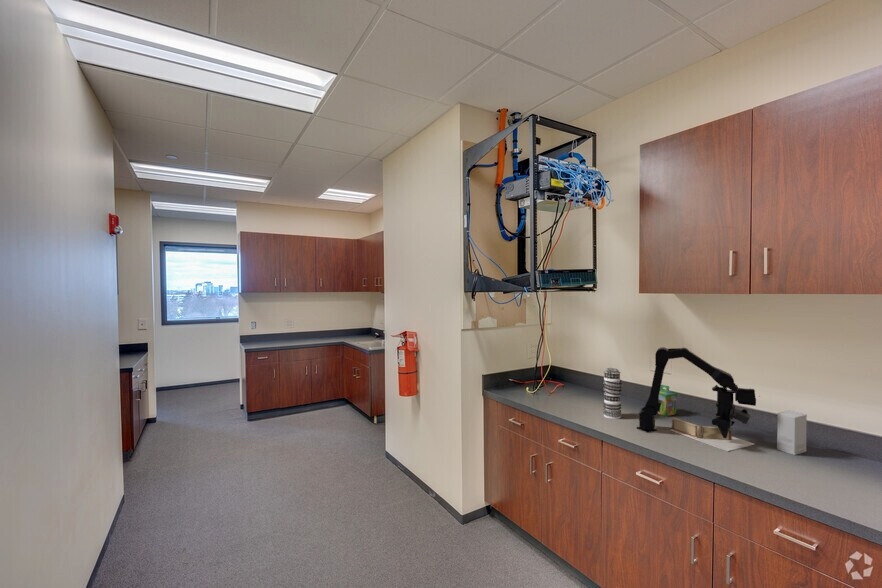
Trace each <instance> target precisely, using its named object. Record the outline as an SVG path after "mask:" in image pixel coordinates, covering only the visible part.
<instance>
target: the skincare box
mask: <svg viewBox="0 0 882 588" xmlns="http://www.w3.org/2000/svg"><path fill="white" fill-rule="evenodd" d="M807 417H808V415H807V414H805V413H802V412H799V411H794V410H789V409H788V410H784V411H781V412H777V424H776V425H777V427H776V428H777V435H776V436H777V439H776V444H777V445H776V450H778V451H782V452H783V453H787V454H789V455H793V456H797V455H799V454H803V453H806V452H807V424H808V423H807V419H808V418H807Z"/></svg>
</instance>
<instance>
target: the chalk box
mask: <svg viewBox="0 0 882 588" xmlns="http://www.w3.org/2000/svg"><path fill="white" fill-rule="evenodd" d="M664 388H665V389H664ZM659 400H662V403H661V406H660V407H661V409H660V412H659V411H658V413H657V415H660V416H663V417H669V416H673V415H678V413H677V412H678V393H677V392H674V391H671V390H670V386H669V385H664V384H661V387H660V392H659Z"/></svg>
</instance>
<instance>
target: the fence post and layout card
mask: <svg viewBox="0 0 882 588" xmlns="http://www.w3.org/2000/svg"><path fill="white" fill-rule="evenodd" d="M702 426H703V425H700V424H694V423H691V422H688V421H685V420H682V419H679V418H677V417H672V418H671V429H669V431H670V432H674V433H676V434H679V435H682V436H684V437H687V438H690V439H693V440H696V441H698V442H701V443H703V444H706V445H709V446H712V447H715V448H717V449H720V450H723V451H726V452H732V451H737V450H740V449H743V448H748V447H751V446H754V445H755V443H753V442H751V441H748V440H744V439H741V438H738V437H735V436H732V440H728V439H715V438H703V437H702Z"/></svg>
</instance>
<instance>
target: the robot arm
mask: <svg viewBox="0 0 882 588" xmlns="http://www.w3.org/2000/svg"><path fill="white" fill-rule="evenodd" d="M654 355H655V358H654V359H655V368H654V369H655V370H654V373H653V378H652V384H651V387H650V393H649V395H648V398H647V400H646V403H645V405H644V406H643V407H642V408H641V409H640V410H639V411H640V412H639V413H638V414H639V416H638V419H639V420H638V421H639V422H638V423H639V424H638V425H639V426H637V427H636V429H637V430H641V431H643V432H644V433H653V432H656V431H657V432H658V429H657V428H656V420H655V416H657V415H658V414H657V413H658V411H659V412H660V409H661V407H660V406H661V403H662V400H659V392H660V388H661V385H662V383H663V382H662V381H663V378H664V372H665V368H666V366H667V364H668V362H669V360H674V359H680V358H681V359H682V358H684V359H685V360H687V361H688V362H690V363H691V364H692V365H694V366H696V367H697V368H698V369H699V370H702V371H703V372H705V374H707V375H708V376H709V377H711V378H712V380H714V381H715V382H716V383H717V384H716V385H715V386H712V387H711V389H712V391H713V392H716V404H715V407H716V413H715V417H713V418H712V419H711V425H713V426H715V427H718V428H719V430H720V432H721V434H722V436H723V438H727V435H728V431H729V428H732V426H733V425H734V424H735V423H736V422H735V421H733V420H737V421H739V422H740V423H742V424H744V425H746V424H748V422H749V420H750V418H751V414H750V413H749V410H748V409H747V408H742V409H737V408H736V405H735V404H734V400H735V402H737V403H738V404H739V405H746V406H752V407H753V406H755V407H757V406H756V405H757V398H756V393H755V392H756V390H755V389H754V388H742V387H739V386H738V384H736V382H735V381H734V380H735V379H734V377H733V376H732V374H731V373H729V372H727V371H725V370H723V369H720V368H718V367H715V366H714V365H712V364H711V363H709V362H707V361H706V360H704V358H703V359H702V358H701V357H699V356H698V355H696V354H695V353H694V352H692V351H691V350H690V349H688V348H686V347H681V348H679V347H677V348H675V347H674V348H672V347H671V348H667V347H664V346H661V347H659V348H657V350H656V351H655V353H654ZM718 385H719V386H718Z"/></svg>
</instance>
